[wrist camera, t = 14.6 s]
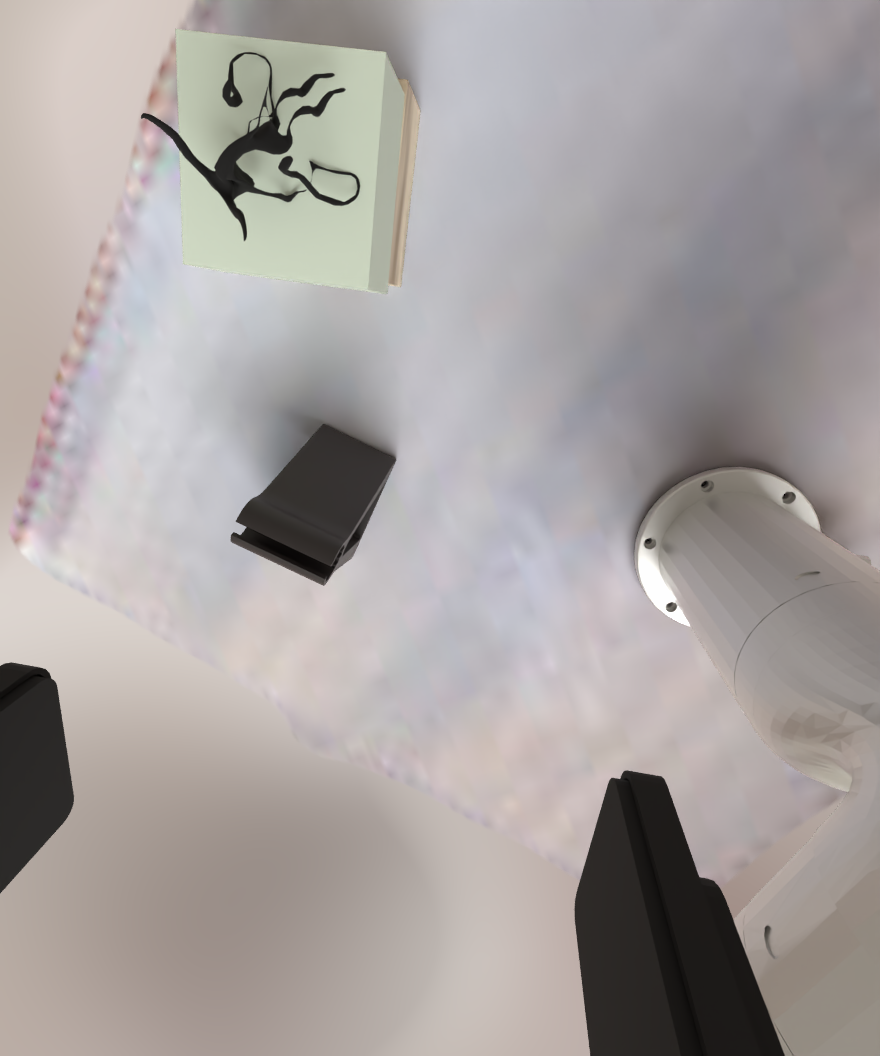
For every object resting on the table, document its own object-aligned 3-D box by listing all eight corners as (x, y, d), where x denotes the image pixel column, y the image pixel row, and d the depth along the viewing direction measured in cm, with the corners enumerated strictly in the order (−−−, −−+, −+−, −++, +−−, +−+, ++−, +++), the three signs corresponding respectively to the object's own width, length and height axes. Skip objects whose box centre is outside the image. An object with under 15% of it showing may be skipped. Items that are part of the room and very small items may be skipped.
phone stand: (325, 422, 41) (257, 458, 30) (397, 458, 42) (357, 507, 30) (285, 523, 45) (210, 590, 33) (352, 556, 45) (301, 633, 34)
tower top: (404, 94, 30) (385, 52, 25) (387, 294, 33) (367, 289, 29) (225, 74, 31) (175, 28, 26) (227, 272, 34) (182, 264, 29)
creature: (287, 26, 26) (165, 143, 27) (258, -69, 21) (107, 79, 22) (396, 172, 28) (277, 279, 29) (393, 116, 23) (248, 249, 23)
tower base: (421, 113, 34) (407, 79, 30) (401, 287, 38) (387, 282, 33) (264, 91, 35) (227, 55, 30) (260, 265, 38) (226, 257, 34)
